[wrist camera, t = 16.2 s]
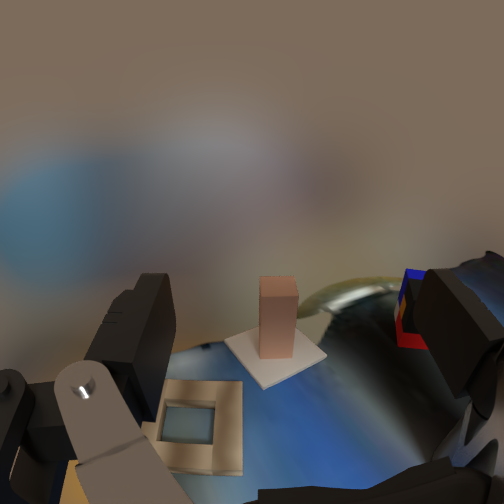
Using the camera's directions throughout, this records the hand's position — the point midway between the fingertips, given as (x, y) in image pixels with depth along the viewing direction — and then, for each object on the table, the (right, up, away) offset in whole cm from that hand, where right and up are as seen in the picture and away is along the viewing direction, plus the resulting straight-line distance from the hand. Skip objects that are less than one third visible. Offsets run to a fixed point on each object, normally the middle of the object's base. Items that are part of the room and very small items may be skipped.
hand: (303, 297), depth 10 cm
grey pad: (+2, -14, +41) cm, 44 cm away
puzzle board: (-10, -22, +28) cm, 36 cm away
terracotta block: (+2, -14, +41) cm, 43 cm away
